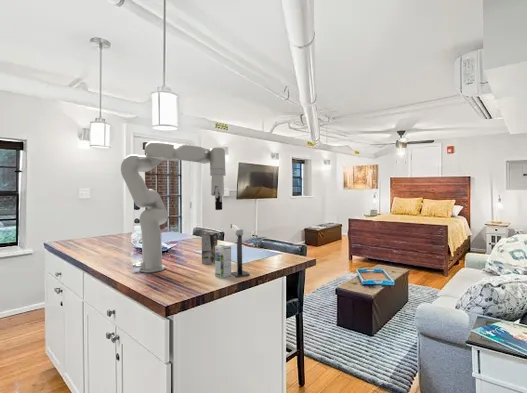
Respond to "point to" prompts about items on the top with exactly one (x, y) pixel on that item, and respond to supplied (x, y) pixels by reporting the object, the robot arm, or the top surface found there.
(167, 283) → the top surface
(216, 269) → the syrup box
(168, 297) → the top surface
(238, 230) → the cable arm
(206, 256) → the coffee box
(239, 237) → the stand
